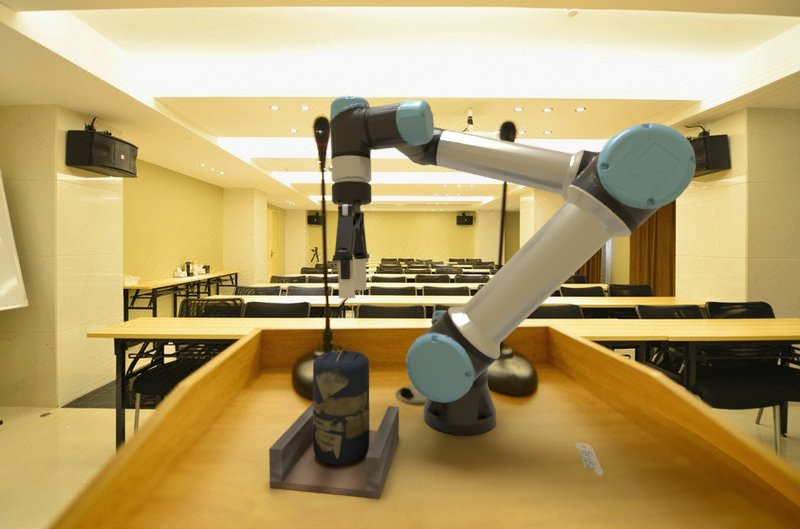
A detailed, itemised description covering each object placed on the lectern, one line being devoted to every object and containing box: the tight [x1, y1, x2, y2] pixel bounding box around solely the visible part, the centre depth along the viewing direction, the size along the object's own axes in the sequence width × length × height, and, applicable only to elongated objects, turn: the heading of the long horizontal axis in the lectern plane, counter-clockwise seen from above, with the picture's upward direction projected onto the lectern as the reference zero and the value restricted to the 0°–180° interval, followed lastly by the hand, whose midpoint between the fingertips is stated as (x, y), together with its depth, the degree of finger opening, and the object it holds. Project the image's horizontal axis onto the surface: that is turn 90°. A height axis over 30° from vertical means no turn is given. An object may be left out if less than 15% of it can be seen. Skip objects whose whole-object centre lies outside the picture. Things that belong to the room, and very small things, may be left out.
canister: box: [312, 349, 370, 465], centre depth 65 cm, size 10×10×18 cm
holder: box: [268, 402, 400, 499], centre depth 65 cm, size 17×18×6 cm
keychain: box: [574, 442, 604, 476], centre depth 66 cm, size 10×1×3 cm
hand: (354, 293), depth 73 cm, fingers open, 13 cm apart
